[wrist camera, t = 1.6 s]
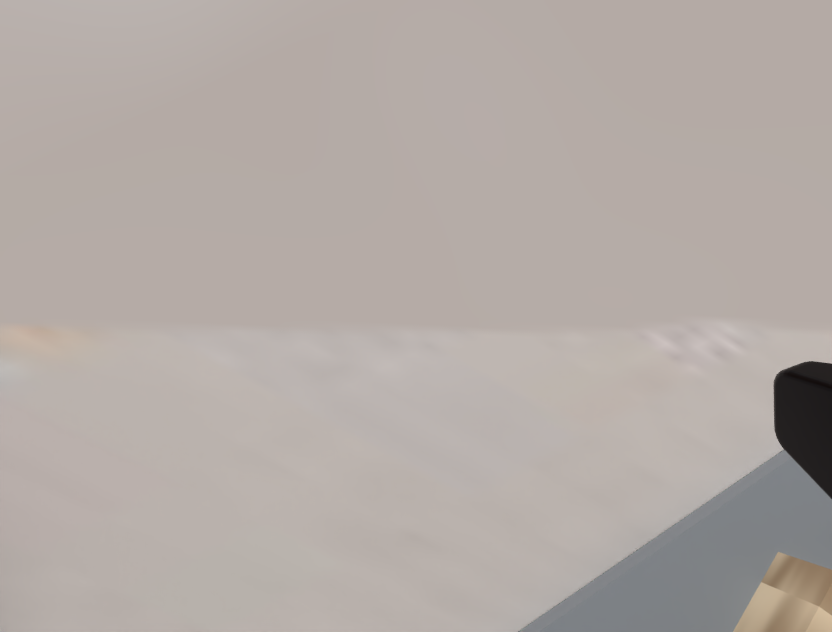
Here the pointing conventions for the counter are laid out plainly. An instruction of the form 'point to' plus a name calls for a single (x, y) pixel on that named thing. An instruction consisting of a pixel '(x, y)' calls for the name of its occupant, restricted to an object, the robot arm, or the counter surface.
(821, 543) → the board
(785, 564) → the socket
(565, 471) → the counter surface
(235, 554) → the counter surface
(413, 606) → the counter surface
